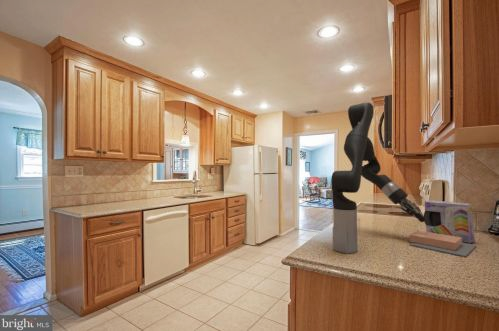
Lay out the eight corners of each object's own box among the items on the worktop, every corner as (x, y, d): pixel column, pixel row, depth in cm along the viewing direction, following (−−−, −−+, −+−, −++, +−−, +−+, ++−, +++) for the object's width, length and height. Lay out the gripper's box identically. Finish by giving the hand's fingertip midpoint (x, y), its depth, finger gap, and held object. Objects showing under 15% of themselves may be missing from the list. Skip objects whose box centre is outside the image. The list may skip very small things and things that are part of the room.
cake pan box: (423, 233, 123) (422, 200, 123) (429, 232, 125) (428, 199, 125) (469, 244, 105) (468, 204, 105) (475, 242, 107) (474, 203, 107)
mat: (465, 257, 89) (465, 255, 89) (409, 245, 103) (409, 244, 103) (476, 246, 101) (476, 245, 101) (424, 237, 116) (424, 236, 116)
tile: (409, 241, 107) (455, 251, 94) (409, 234, 107) (455, 242, 94) (418, 237, 114) (462, 245, 101) (418, 230, 114) (462, 237, 102)
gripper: (394, 188, 111) (426, 218, 101) (404, 187, 120) (435, 214, 110) (382, 198, 115) (412, 228, 105) (393, 196, 124) (422, 223, 114)
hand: (424, 221), depth 107 cm, fingers closed
